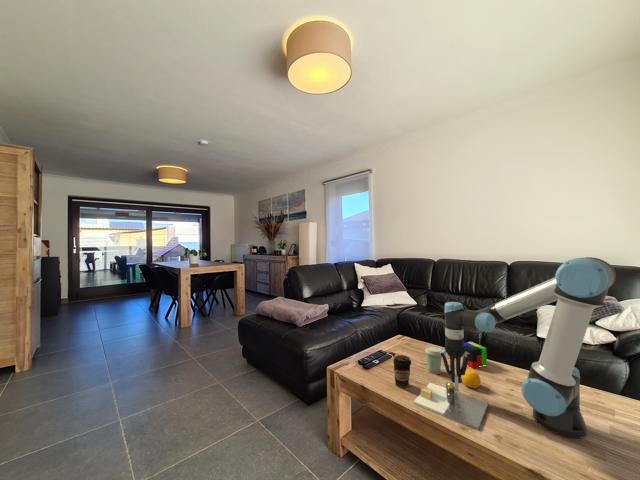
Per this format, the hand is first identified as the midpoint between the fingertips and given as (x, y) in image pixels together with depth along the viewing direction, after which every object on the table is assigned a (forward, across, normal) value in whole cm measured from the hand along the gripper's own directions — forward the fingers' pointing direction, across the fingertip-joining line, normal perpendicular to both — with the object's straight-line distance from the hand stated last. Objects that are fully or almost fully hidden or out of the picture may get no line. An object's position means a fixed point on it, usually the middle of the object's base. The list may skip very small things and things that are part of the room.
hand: (456, 389), depth 119 cm
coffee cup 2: (+3, -4, +21) cm, 22 cm away
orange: (+3, +9, +9) cm, 14 cm away
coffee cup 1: (+2, -23, +4) cm, 23 cm away
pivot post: (+2, -4, -8) cm, 9 cm away
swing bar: (+1, -3, -1) cm, 3 cm away
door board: (+2, -10, -5) cm, 11 cm away
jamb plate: (+2, +1, -11) cm, 11 cm away
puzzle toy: (+3, +19, +35) cm, 40 cm away
